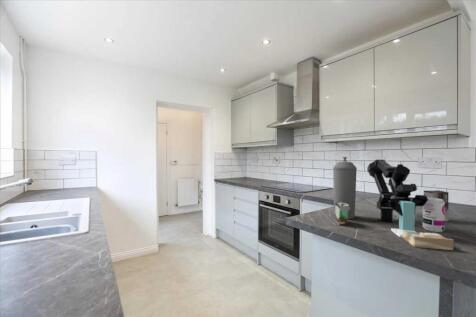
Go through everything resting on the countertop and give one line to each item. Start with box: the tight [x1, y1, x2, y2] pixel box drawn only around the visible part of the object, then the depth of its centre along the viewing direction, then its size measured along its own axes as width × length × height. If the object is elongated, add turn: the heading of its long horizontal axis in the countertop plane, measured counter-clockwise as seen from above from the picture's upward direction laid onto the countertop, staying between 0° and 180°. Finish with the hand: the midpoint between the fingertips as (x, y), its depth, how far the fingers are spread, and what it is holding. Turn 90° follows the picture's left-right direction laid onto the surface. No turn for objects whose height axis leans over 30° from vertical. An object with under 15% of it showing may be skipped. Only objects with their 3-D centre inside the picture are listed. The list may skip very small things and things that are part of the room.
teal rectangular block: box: [398, 201, 416, 231], centre depth 105 cm, size 4×4×12 cm
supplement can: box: [421, 198, 446, 233], centre depth 112 cm, size 8×8×15 cm
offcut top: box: [423, 232, 444, 238], centre depth 94 cm, size 7×4×2 cm, turn 167°
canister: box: [332, 156, 358, 220], centre depth 134 cm, size 13×13×35 cm
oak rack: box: [402, 231, 454, 251], centre depth 94 cm, size 10×13×4 cm
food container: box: [334, 202, 350, 226], centre depth 123 cm, size 12×6×10 cm, turn 168°
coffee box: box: [423, 189, 449, 222], centre depth 128 cm, size 9×6×16 cm
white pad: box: [390, 228, 420, 238], centre depth 105 cm, size 9×9×1 cm
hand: (408, 215), depth 104 cm, fingers closed on teal rectangular block, 4 cm apart
